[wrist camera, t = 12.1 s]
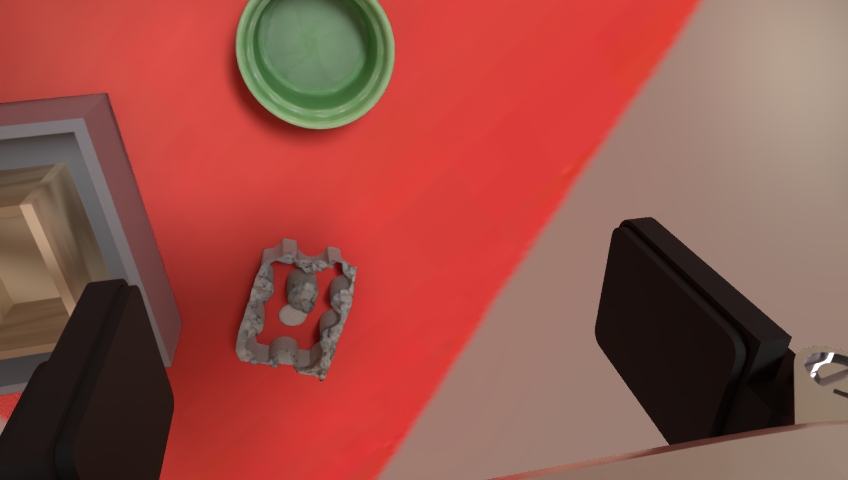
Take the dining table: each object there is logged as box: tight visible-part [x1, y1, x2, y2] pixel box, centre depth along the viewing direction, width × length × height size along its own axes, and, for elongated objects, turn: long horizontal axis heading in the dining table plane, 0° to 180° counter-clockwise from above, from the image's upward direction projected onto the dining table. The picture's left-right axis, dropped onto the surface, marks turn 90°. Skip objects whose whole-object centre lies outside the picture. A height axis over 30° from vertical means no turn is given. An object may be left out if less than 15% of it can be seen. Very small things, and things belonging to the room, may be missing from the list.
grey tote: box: [0, 93, 182, 395], centre depth 37 cm, size 18×14×5 cm
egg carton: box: [236, 238, 357, 381], centre depth 44 cm, size 11×8×4 cm
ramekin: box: [236, 0, 395, 129], centre depth 35 cm, size 9×9×4 cm
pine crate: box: [0, 163, 112, 360], centre depth 36 cm, size 10×7×6 cm
